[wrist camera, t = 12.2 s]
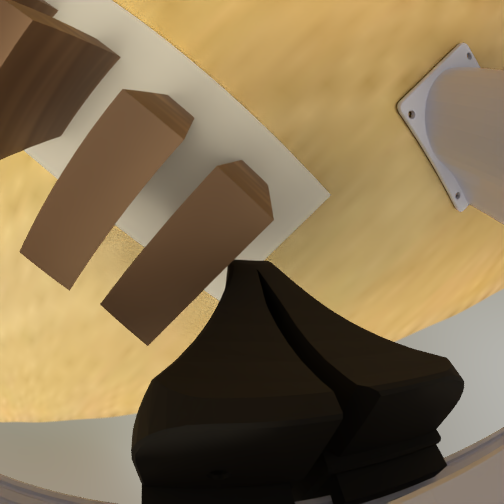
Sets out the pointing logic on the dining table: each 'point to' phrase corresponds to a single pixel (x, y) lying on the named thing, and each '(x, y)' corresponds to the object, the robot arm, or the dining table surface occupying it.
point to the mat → (196, 141)
